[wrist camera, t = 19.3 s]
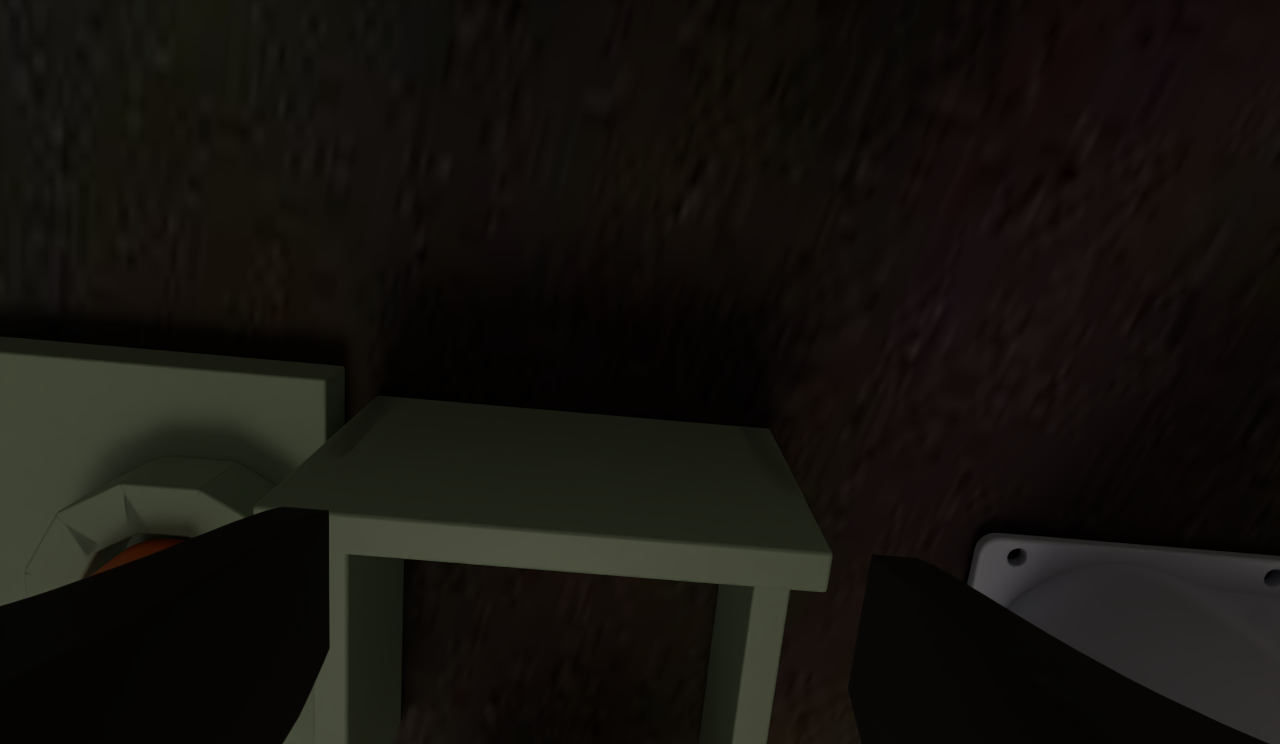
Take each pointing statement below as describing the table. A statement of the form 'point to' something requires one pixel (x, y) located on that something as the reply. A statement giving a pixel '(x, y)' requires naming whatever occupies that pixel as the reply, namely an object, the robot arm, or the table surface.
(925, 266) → the table surface
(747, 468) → the frame
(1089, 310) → the table surface
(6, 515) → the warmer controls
